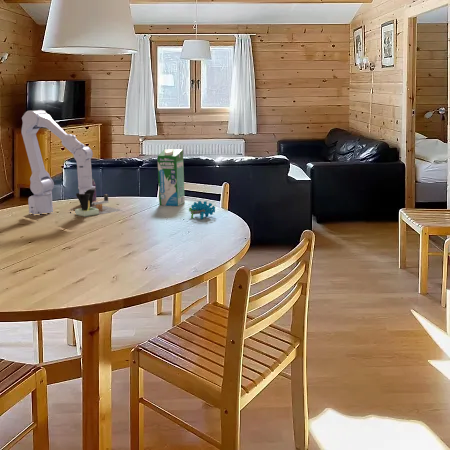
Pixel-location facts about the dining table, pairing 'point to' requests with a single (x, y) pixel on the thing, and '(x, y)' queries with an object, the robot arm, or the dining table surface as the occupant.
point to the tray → (87, 212)
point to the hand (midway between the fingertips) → (86, 208)
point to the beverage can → (95, 190)
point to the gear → (202, 209)
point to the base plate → (104, 209)
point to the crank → (102, 200)
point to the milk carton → (171, 177)
